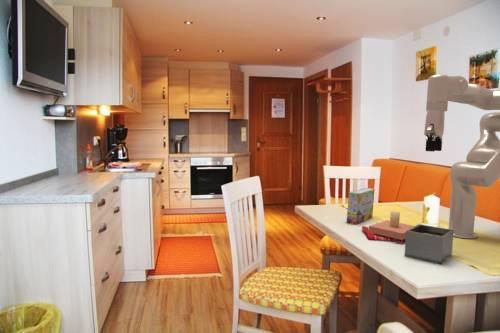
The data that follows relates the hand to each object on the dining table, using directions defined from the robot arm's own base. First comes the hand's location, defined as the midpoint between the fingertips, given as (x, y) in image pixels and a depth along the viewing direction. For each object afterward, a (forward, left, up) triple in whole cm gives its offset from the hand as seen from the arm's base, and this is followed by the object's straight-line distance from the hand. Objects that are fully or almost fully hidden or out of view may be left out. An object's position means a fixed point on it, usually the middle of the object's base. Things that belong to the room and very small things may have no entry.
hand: (433, 151), depth 152 cm
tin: (+20, +6, -36) cm, 42 cm away
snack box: (-14, -35, -37) cm, 53 cm away
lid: (+5, -12, -34) cm, 37 cm away
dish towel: (+4, -12, -37) cm, 39 cm away
